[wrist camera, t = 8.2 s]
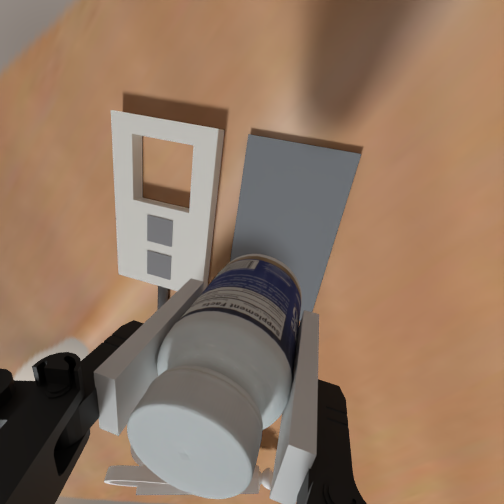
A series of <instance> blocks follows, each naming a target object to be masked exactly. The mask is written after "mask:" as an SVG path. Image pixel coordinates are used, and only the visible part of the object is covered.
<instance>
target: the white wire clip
mask: <svg viewBox="0 0 504 504" xmlns="http://www.w3.org/2000/svg"><path fill="white" fill-rule="evenodd" d="M131 454H132V457H133V459H134V461H135V462H136V463H137V464H138V465H139V466H124V465H121V466H110V467H109V468H108V471H107V474H106V477H105V480H104V482H105V483H108V484H113V485H120V486H133V487H137V490H136V495H193V494H190V493H188V492H185V491H182V490H180V489H178V488H176V487H174V486H172V485H170V484H168V483H167V482H165V481H164V480H162V479H161V478H160V477H158V476H157V475H156V474H154V473H153V472H152V471H151V470H150V469H149V468H148V467H147V466H146V465H145V464H144V463H143V462H142V461H141V460H140V458H139V457H138V456H137V455H136V453H135V452H134V449H133V448H132V446H131ZM272 478H273V472H272V471H271V469H270V468H266V469H265V470H264V471H263V472H262V473H261V472H260V471H259V466H258V465H255V469H254V473H253V477H252V480H251V482H250V484H249V486H248V487H247V488H246V489H245V490H244V491H243V492H242V493H240V494H258V493H259V489H260V485H261V484H263V485H264V487H265V488H267V489H269V490H270V489H271V485H272Z"/></svg>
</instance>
